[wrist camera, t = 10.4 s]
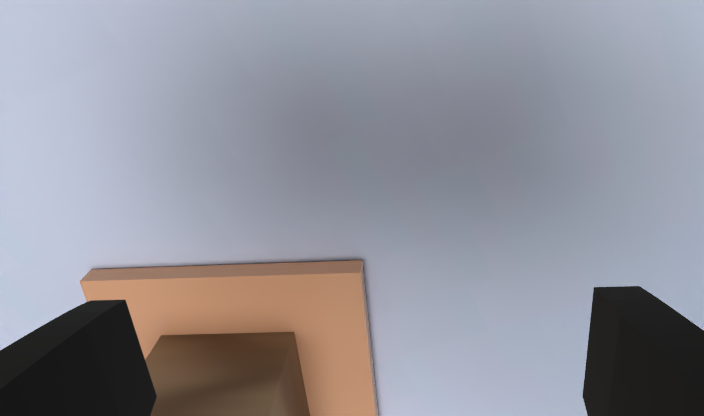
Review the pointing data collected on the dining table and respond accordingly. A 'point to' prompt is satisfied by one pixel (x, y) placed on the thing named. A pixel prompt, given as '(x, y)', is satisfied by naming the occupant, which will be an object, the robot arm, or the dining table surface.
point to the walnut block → (227, 375)
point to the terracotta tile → (261, 317)
